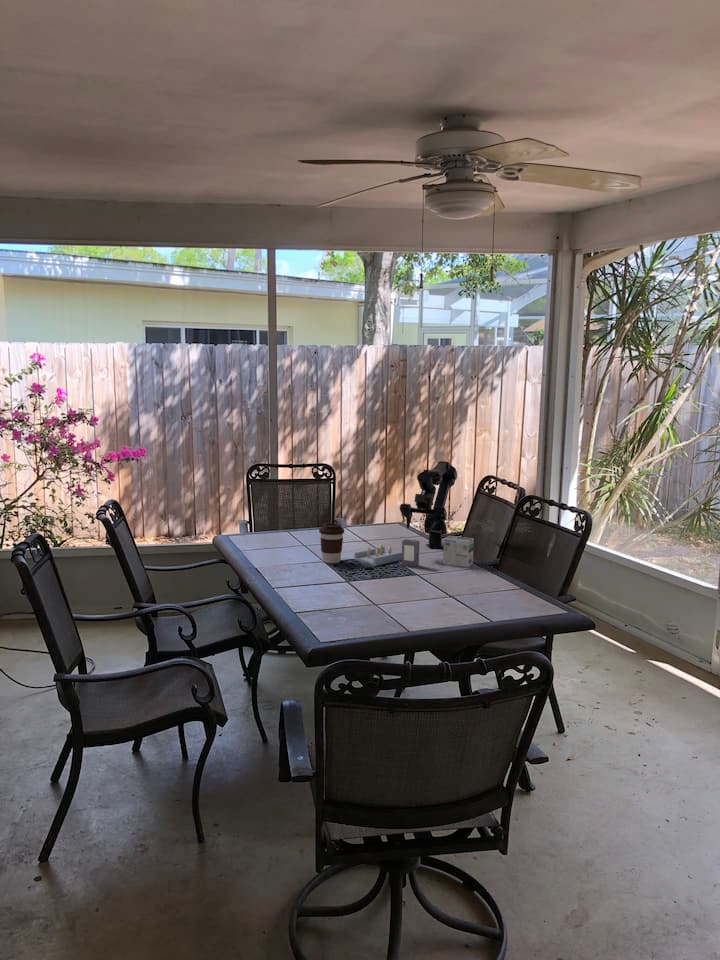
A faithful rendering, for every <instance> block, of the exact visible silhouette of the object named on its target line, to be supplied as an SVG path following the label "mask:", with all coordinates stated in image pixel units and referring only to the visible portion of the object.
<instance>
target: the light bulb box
mask: <svg viewBox="0 0 720 960" xmlns="http://www.w3.org/2000/svg"><path fill="white" fill-rule="evenodd" d="M474 540H475V538H474V537H465V536H456V535H448V536H446V537H444V538H443V546H444V548H443V555H442V556H443V557H442V558H443V559H442V562H443V563H442V564H443V565H444V566H445V565H446V566H452V567H453V566H454V567H460V568H461V567H462V568H470V567H471V566H472V565H473V564H474V543H475V542H474Z"/></svg>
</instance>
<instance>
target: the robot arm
mask: <svg viewBox="0 0 720 960" xmlns="http://www.w3.org/2000/svg"><path fill="white" fill-rule="evenodd" d="M457 479H458V471H457V469H456V468H455V466H453V465H451V462H449V461H441V460H439V461H438V462H437V464H436V465H435V466H434V467H433V468H432V469H423V471H421V472H420V473H419V474H417V476H416V480H417V482H418V485H419V488H420V489H421V492H420V493H415V496H414V503H415V506H416V507H412V504H411V503H400V505H399V511H400V513H401V515H402V516H403V517H404V518H405V520H406V529H409V528H410V526H411V522H412V518H413V517H412V515H413V514H414V513H416V514H422V515H423V514H424V515H426V517H425V519H424V525H423V526H424V528H423V529H424V533H425V534H428V543H426V544H425V545H426V547H428V548H429V549H444V544H442V543H443V536H444V535H446V534H447V533H448V532H447V531H448V528H447V523H446V521H445V520H447V517H448V516H447V515H448V513H447V510H446V508H445V506H446V504H447V503H446V502H447V499H448V496H449V491H450V489H451V488H452V487H453V486H454V485H455V482H456V480H457ZM436 486H438V489H437V488H436ZM436 491H437V492H436ZM435 495H436V496H435ZM434 499H435V500H434ZM432 507H433V508H432Z"/></svg>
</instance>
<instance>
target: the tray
mask: <svg viewBox="0 0 720 960" xmlns="http://www.w3.org/2000/svg"><path fill="white" fill-rule="evenodd" d="M387 548H388V550H387V551H385V546H383V544H379V546H378V547H375V548H374V547H373V548H371V547H370V546H367V549H364V550H360V551H354V560H355V561H357V562H360V563H365V564H367V565H371V566H375V567H376V566H380V565H384V564H389V563H393V562H398V561H402V551H398V552H394V553H392V546H387Z"/></svg>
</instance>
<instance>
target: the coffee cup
mask: <svg viewBox="0 0 720 960" xmlns="http://www.w3.org/2000/svg"><path fill="white" fill-rule="evenodd" d="M318 531H319V534H320V539H319V540H320V551H321V560H322V562H323V563H325V564H338V563H340V562H341V561H342V560H341V559H342V557H341V555H342V551H343V543H344V542H343V540H344V538H343V534H344V533H345V528H344V527H342V525H341V524H340V523H336V522H326V523H324V524H323V525H322V526H321V527H319V529H318Z"/></svg>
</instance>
